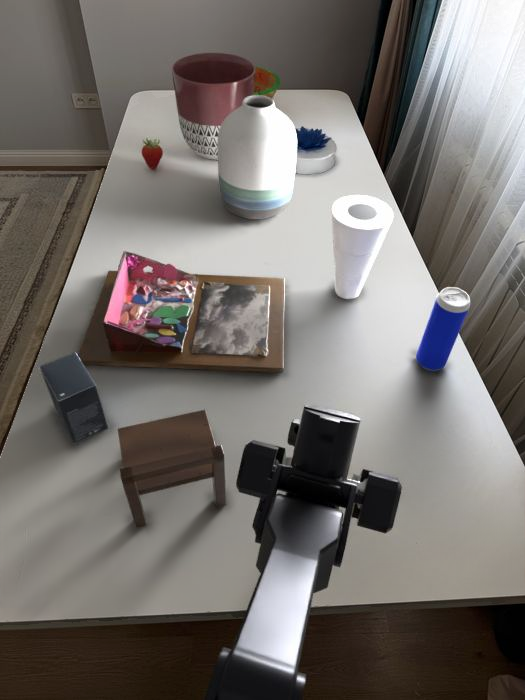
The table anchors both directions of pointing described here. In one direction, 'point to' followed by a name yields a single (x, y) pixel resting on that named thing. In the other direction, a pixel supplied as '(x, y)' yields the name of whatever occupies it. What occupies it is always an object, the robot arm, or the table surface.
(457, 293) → the beverage can
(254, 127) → the vase
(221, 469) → the brown legged wooden frame
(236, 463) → the table surface
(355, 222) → the stacked toilet paper rolls
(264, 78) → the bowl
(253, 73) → the planter
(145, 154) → the fruit
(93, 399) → the box
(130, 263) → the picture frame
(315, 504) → the robot arm
